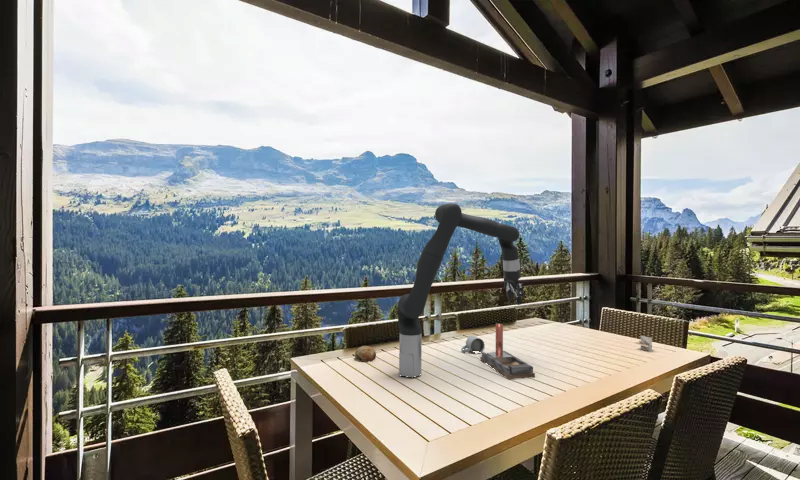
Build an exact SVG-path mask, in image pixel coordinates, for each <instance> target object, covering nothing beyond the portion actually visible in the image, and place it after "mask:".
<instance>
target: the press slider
mask: <svg viewBox="0 0 800 480" xmlns="http://www.w3.org/2000/svg"><path fill="white" fill-rule="evenodd" d="M503 351H504V324H503V323H495V351H494V352H486V354H488V355H489V356H491V357H493V358H494V359H496V360H497V361H499V362H501V363H510V362H512V356H510V355H508V354H506V353H505V352H503Z"/></svg>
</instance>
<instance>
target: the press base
mask: <svg viewBox="0 0 800 480" xmlns="http://www.w3.org/2000/svg"><path fill="white" fill-rule="evenodd" d="M503 352H505V353H506V354H508V355H510V356H512V362H510V363H501V362H499V361H497V360H496V359H494V358H493V357H491V356H489V355H488V354H487V352H485V351H482V352H481V356H480V359H481V360H482V361H484V362H485V363H487V364H488V365H490V366H491V367H492V368H494V369H495V370H496V371H495V370H494V369H493V370H494V371H495V372H497V371H498V372H499V373H500V374H499V373H498V372H497V373H498V374H499V375H501V374H502V375H503V376H502V375H501V376H502V377H504V376H505V377H506V378H505V377H504V378H505V379H507V380H508V379H509V380H515V379H514V378H521V379H526V378H525V377H532V378H535V377H536V373H535V372H534V366H533V365H531V364H529V363H528V362H525V361H524V360H522V359H520V358H519V357H516V356H514V355H513V354H511V353H509V352H507V351H506V350H503ZM481 360H480V361H481ZM482 361H481V362H482ZM484 362H483V363H484ZM485 363H484V364H485ZM488 365H487V366H488ZM491 367H490V368H491ZM492 368H491V369H492Z"/></svg>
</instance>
